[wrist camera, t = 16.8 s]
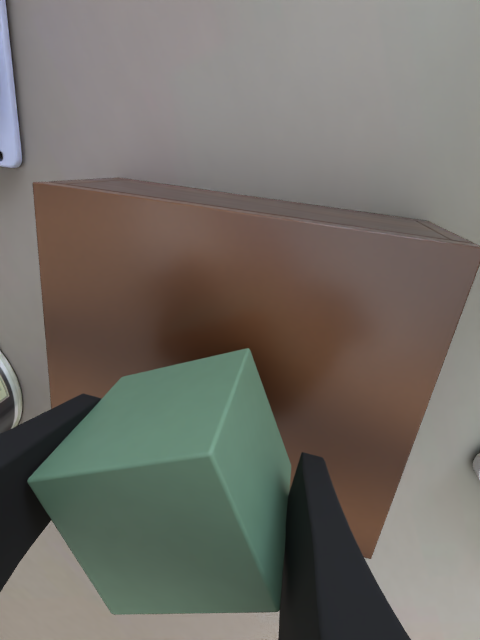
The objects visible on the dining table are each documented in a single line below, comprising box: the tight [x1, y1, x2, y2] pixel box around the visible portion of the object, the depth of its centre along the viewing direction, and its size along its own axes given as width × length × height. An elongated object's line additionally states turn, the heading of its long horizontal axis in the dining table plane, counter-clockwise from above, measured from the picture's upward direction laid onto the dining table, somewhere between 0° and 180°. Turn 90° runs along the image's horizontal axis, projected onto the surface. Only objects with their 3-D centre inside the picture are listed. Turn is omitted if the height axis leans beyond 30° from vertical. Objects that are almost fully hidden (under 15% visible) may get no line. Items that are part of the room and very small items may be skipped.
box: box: [51, 178, 474, 244], centre depth 17 cm, size 12×14×5 cm
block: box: [27, 348, 291, 615], centre depth 11 cm, size 5×5×5 cm
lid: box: [33, 182, 480, 559], centre depth 14 cm, size 13×14×1 cm
